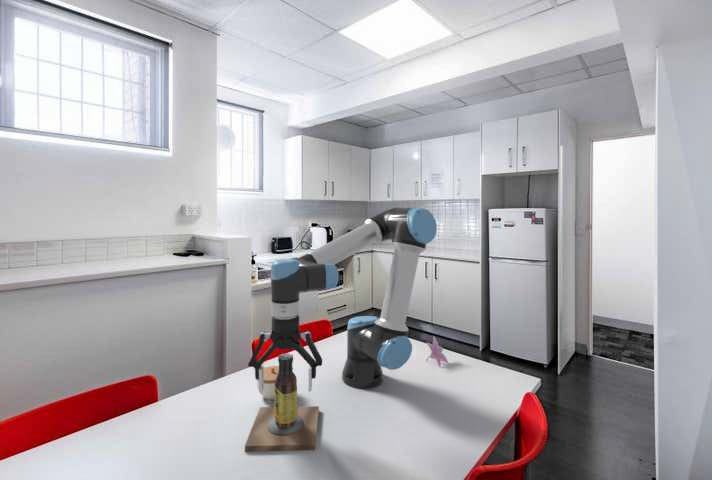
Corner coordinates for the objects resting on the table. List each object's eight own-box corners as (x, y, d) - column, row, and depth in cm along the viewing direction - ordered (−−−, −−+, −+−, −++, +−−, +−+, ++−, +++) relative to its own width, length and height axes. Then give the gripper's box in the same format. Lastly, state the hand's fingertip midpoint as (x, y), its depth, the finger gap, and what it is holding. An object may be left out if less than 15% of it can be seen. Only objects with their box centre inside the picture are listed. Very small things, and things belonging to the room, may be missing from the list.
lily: (425, 372, 139) (437, 354, 136) (411, 350, 149) (423, 333, 146) (446, 375, 145) (459, 358, 142) (431, 354, 155) (443, 337, 152)
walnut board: (318, 410, 109) (319, 405, 109) (315, 450, 91) (315, 443, 91) (260, 411, 108) (260, 406, 108) (244, 451, 90) (244, 444, 90)
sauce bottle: (276, 416, 103) (275, 350, 101) (297, 416, 103) (297, 350, 102) (272, 430, 96) (272, 360, 95) (296, 429, 97) (296, 359, 95)
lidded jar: (281, 405, 112) (281, 377, 111) (250, 401, 114) (250, 373, 114) (293, 388, 123) (293, 362, 122) (265, 385, 125) (265, 359, 124)
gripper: (235, 320, 93) (237, 397, 95) (330, 319, 94) (330, 395, 96) (243, 311, 100) (244, 383, 102) (331, 311, 102) (330, 382, 103)
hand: (286, 389), depth 99 cm, fingers open, 13 cm apart
